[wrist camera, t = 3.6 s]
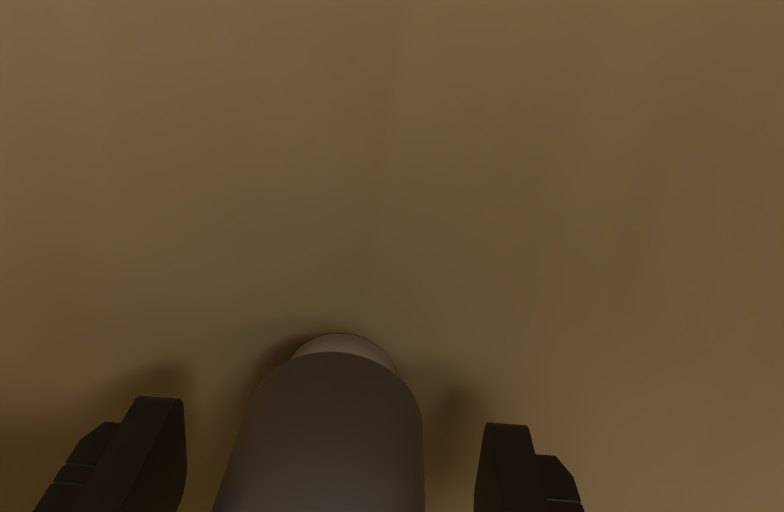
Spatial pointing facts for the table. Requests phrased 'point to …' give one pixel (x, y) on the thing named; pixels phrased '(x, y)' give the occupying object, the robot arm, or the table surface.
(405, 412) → the marker
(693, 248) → the table surface
